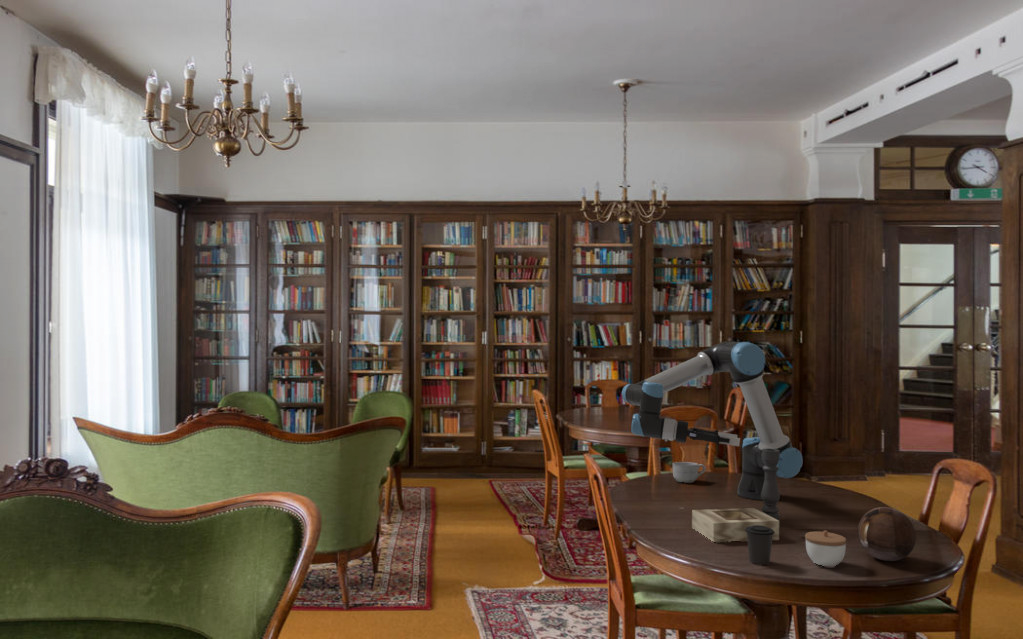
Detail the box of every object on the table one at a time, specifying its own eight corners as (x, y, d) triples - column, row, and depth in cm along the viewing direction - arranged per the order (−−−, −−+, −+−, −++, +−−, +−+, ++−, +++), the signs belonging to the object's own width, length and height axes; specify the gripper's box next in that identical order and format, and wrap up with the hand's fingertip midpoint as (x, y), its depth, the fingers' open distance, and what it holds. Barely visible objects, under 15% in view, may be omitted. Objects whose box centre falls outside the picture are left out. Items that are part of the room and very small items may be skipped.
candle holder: (777, 527, 246) (778, 452, 246) (758, 524, 249) (759, 450, 249) (781, 522, 251) (782, 449, 251) (762, 520, 254) (763, 447, 254)
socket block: (753, 525, 247) (753, 507, 247) (778, 539, 231) (779, 520, 231) (691, 528, 243) (692, 509, 243) (713, 542, 227) (713, 522, 227)
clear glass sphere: (906, 554, 219) (907, 503, 219) (922, 570, 204) (923, 516, 204) (852, 549, 222) (852, 500, 222) (864, 565, 207) (865, 512, 207)
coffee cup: (739, 562, 209) (739, 526, 209) (751, 555, 215) (752, 521, 215) (767, 568, 204) (767, 532, 204) (779, 562, 210) (779, 526, 210)
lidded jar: (803, 556, 215) (803, 524, 215) (843, 560, 212) (843, 527, 212) (806, 567, 205) (807, 534, 205) (848, 572, 202) (849, 538, 202)
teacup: (672, 483, 310) (673, 464, 310) (671, 478, 320) (671, 460, 320) (706, 485, 307) (707, 466, 307) (704, 480, 318) (704, 461, 318)
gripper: (675, 438, 271) (734, 447, 266) (673, 444, 247) (739, 455, 242) (677, 418, 271) (737, 427, 266) (676, 422, 247) (742, 432, 242)
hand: (738, 440), depth 254 cm, fingers open, 13 cm apart
